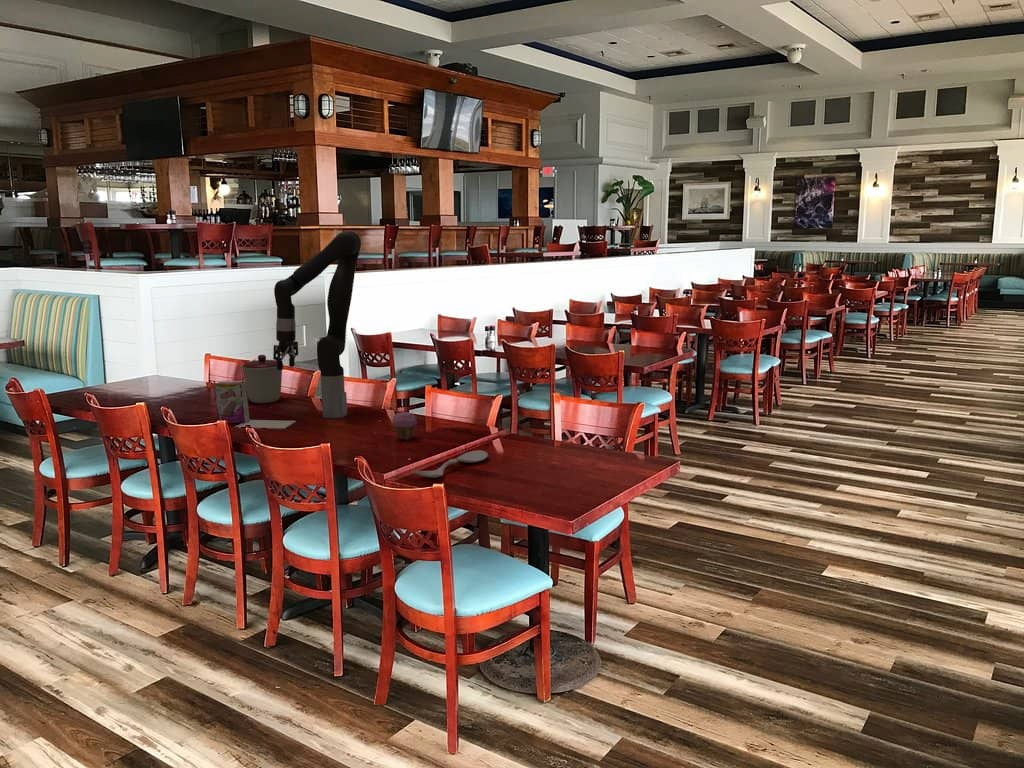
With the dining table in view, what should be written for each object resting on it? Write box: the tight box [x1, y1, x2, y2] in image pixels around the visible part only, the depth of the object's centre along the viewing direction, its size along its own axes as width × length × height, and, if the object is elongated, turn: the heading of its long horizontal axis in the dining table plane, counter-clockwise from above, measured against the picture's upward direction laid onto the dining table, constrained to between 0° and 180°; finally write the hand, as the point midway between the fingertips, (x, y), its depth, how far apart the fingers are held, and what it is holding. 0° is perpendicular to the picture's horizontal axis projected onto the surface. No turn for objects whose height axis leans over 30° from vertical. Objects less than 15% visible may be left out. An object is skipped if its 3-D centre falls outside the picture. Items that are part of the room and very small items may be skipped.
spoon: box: [411, 449, 489, 479], centre depth 262 cm, size 9×32×4 cm, turn 148°
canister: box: [240, 354, 284, 404], centre depth 365 cm, size 18×18×21 cm
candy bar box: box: [213, 380, 251, 424], centre depth 325 cm, size 11×5×16 cm, turn 84°
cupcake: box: [392, 411, 418, 441], centre depth 299 cm, size 9×9×10 cm
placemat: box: [234, 419, 297, 430], centre depth 323 cm, size 20×12×1 cm, turn 83°
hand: (286, 368), depth 335 cm, fingers open, 8 cm apart
